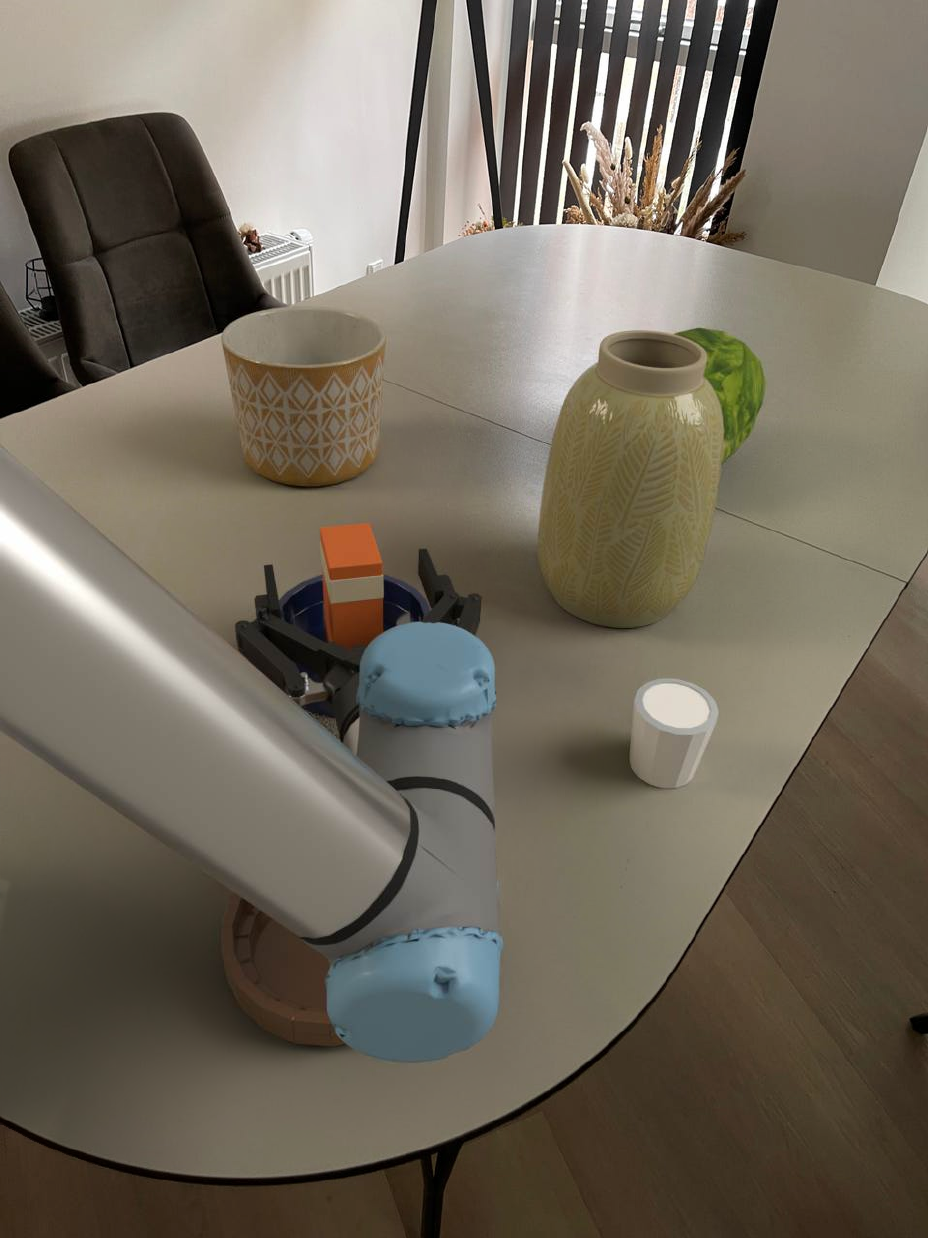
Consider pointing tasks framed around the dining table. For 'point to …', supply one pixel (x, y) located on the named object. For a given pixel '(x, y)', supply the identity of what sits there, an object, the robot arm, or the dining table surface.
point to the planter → (306, 392)
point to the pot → (308, 615)
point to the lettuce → (731, 382)
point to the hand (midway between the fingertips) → (347, 568)
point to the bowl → (276, 976)
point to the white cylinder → (670, 731)
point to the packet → (351, 584)
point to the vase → (631, 481)
